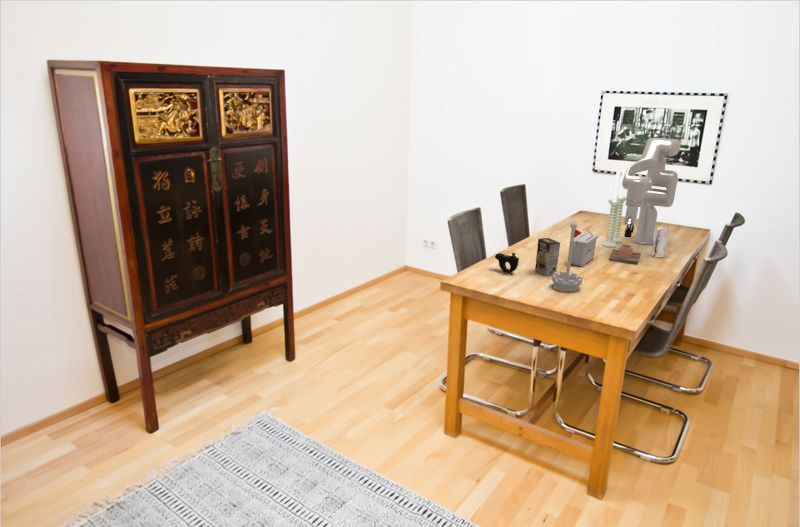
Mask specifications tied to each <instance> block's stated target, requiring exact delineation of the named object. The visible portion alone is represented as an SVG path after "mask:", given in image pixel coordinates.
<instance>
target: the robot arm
mask: <svg viewBox="0 0 800 527" xmlns="http://www.w3.org/2000/svg"><path fill="white" fill-rule="evenodd" d="M680 150H681V142H680V140H679V139H675V138H663V137H650V138H648V139H646V141H645V146H644V149H643V152H642V154H641V157H640V159H639V160H637V161H635V162H634V163H631V165H630V166H629V167H628V168H627V169H626V171H625V173H624V175H623V178H622V183H621V186H622V188H623V189H625V190H627V192H626V198H625V203H624V205H625V206H626V210H625V216H624V221H623V225H624V226H625V225H626V226H625V230H624V236H623V237H624V238H629V239H630V238H632V234H633V233H634V230H635V224H636V221H637V220H638V221H637V226H636V234H635V236H634V237H633V238H632V242H634V243H636V244H641V245H649V246H650V245H653V237H654V232H655V228H656V225H657V219H658V210H657V208H656V207H660V208H661V207H663V208H670V207H672V206H673V204H674V201H675V196H676V192H677V191H676V190H677V186H678V180H679V177H678V173H677V172H676V171H675V170H667V169H666V163H667V159H666V158H665V157H674V156H676V155H677V154H679V152H680ZM645 171H647V174H646V176H641V175H636V174H638V173H642V172H645ZM653 187H655V188H653ZM656 187H658V188H656ZM659 187H660V188H665V189H660V188H659ZM638 212H639V213H638ZM637 216H638V219H637Z"/></svg>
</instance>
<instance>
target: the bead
mask: <svg viewBox="0 0 800 527" xmlns="http://www.w3.org/2000/svg"><path fill="white" fill-rule="evenodd" d="M625 245H626V244H620V245H619V249H618V250H619V256H622V257H628V258H631V256H632V252H634V251H633V250H634V245H629V244H627V245H628V246H629V247H625Z"/></svg>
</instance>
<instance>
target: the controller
mask: <svg viewBox="0 0 800 527" xmlns="http://www.w3.org/2000/svg"><path fill="white" fill-rule="evenodd" d="M516 255H517V253H516V252H512V253H511V255H509V254H505V253H501V252H500V253H497V254H495V256H494V258H495V259H496V260H497V261H498V266H499V268H500V270H502V272H504V273H508V274H509V273H513V272H515V271H516V270H517V269H518V266H519V263H520V262H519V260H520V257H517V256H516ZM507 263H508V264H509V268H508V267H507Z"/></svg>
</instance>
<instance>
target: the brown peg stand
mask: <svg viewBox="0 0 800 527" xmlns="http://www.w3.org/2000/svg"><path fill="white" fill-rule="evenodd" d="M624 245H625V247H629V246H628V245H629V244H624ZM641 256H642V253H640V252H635V251H632V256H631V258H628V257H622V256H619V249H612V251H611V253H610V255H609V256H608V260H609V261H611V262H614V263H623V264H628V265H635V266H637V265H638V264H639V261H640V259H641ZM609 261H608V262H609Z"/></svg>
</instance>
